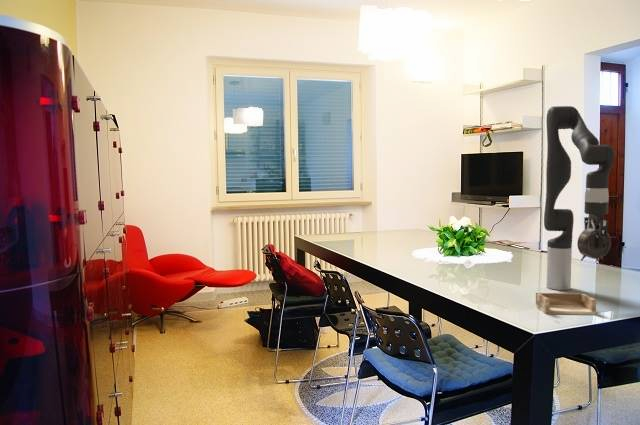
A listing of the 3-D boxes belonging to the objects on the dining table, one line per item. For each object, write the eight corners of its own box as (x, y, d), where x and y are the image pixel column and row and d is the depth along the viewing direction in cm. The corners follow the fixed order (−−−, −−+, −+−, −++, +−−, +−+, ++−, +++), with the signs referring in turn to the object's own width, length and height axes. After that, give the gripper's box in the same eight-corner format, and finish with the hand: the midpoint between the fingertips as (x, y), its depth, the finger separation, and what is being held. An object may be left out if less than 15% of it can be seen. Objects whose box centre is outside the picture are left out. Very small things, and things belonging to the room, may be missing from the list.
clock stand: (535, 306, 182) (535, 292, 182) (583, 307, 181) (583, 293, 180) (545, 313, 172) (545, 299, 172) (595, 314, 171) (596, 300, 171)
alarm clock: (602, 259, 187) (604, 215, 186) (613, 261, 182) (614, 216, 180) (575, 260, 185) (577, 216, 184) (585, 263, 180) (587, 217, 179)
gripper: (577, 199, 189) (576, 244, 190) (594, 202, 175) (593, 250, 176) (598, 199, 188) (596, 244, 190) (617, 201, 174) (615, 250, 176)
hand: (595, 247), depth 183 cm, fingers closed on alarm clock, 5 cm apart
